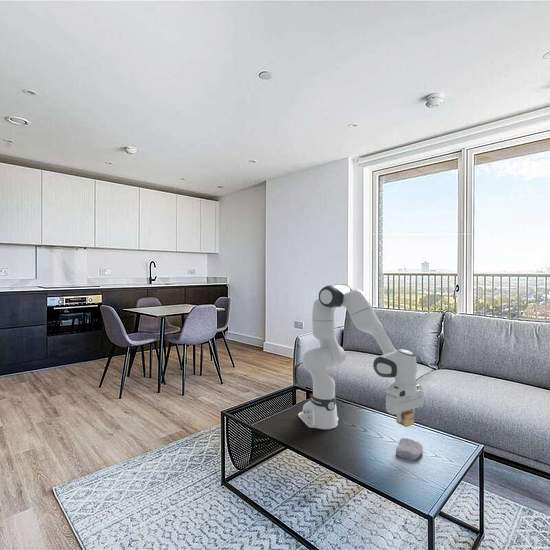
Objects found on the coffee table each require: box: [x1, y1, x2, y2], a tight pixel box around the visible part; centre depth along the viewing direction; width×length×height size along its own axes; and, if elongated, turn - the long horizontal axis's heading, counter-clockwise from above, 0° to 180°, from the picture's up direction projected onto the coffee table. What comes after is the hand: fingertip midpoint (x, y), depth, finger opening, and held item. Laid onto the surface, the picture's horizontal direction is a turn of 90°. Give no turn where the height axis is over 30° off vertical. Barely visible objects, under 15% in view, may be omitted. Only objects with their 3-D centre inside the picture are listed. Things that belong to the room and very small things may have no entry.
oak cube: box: [396, 410, 415, 428], centre depth 150 cm, size 5×5×5 cm
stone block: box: [395, 437, 424, 462], centre depth 150 cm, size 12×5×10 cm
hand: (405, 419), depth 150 cm, fingers closed on oak cube, 5 cm apart
